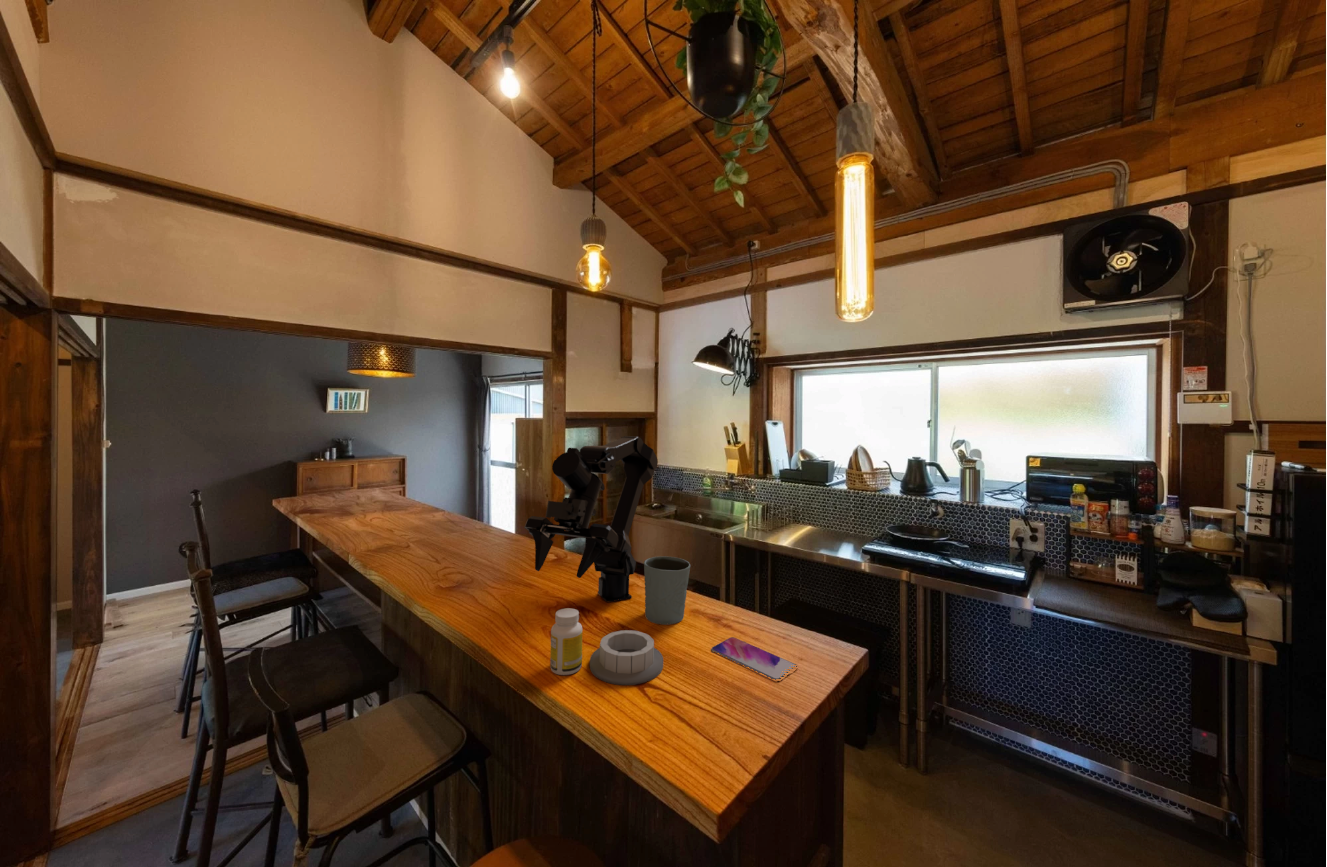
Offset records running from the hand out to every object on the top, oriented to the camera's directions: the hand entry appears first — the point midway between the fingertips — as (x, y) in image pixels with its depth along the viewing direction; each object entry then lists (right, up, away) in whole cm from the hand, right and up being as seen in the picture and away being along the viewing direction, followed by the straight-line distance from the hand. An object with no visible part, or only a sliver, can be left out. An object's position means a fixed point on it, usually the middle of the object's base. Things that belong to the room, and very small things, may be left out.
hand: (557, 573), depth 92 cm
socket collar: (+14, -14, -7) cm, 21 cm away
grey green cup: (+21, -14, +14) cm, 29 cm away
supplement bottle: (+3, -14, -8) cm, 17 cm away
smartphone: (+37, -15, -3) cm, 40 cm away
